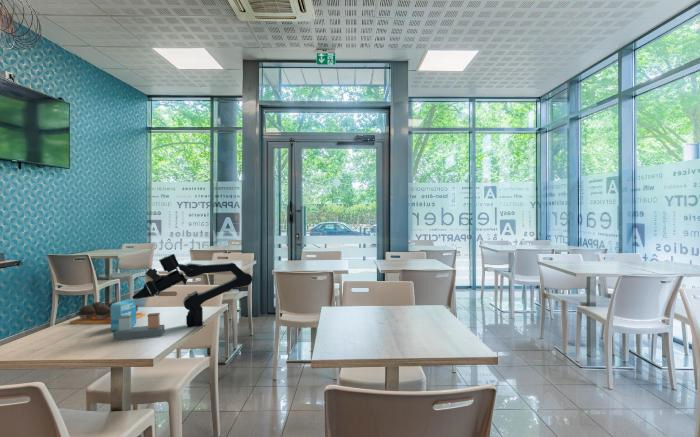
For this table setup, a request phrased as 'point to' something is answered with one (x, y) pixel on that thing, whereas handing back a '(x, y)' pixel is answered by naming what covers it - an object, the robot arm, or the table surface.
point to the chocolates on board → (98, 314)
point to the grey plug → (124, 322)
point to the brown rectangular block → (153, 320)
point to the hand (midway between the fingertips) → (134, 298)
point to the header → (139, 333)
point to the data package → (122, 312)
